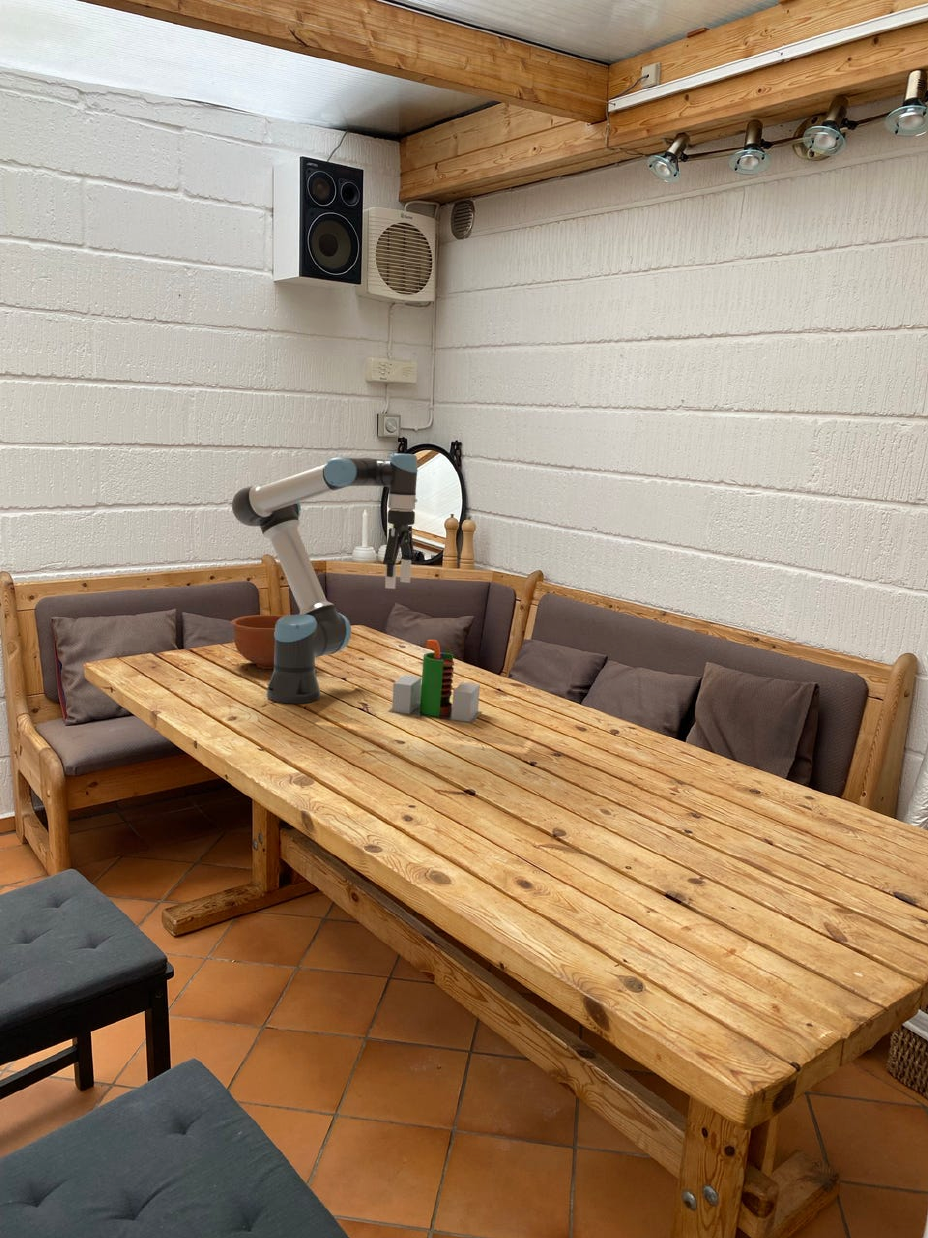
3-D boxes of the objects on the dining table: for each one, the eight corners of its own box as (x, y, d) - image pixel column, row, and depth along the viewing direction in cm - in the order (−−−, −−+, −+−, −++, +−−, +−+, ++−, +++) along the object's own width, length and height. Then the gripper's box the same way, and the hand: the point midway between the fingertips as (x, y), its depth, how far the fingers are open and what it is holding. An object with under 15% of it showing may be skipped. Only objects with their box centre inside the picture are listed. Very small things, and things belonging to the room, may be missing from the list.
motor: (450, 717, 260) (455, 646, 257) (418, 715, 261) (422, 643, 257) (452, 707, 270) (456, 638, 267) (420, 705, 271) (424, 636, 267)
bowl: (301, 677, 299) (302, 630, 296) (221, 672, 299) (222, 625, 296) (314, 660, 323) (315, 616, 320) (240, 655, 323) (241, 611, 320)
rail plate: (387, 717, 262) (387, 711, 262) (400, 706, 274) (400, 701, 274) (471, 728, 257) (472, 723, 256) (481, 716, 268) (482, 711, 268)
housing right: (451, 719, 259) (453, 690, 257) (460, 709, 268) (462, 682, 267) (469, 721, 258) (471, 692, 256) (478, 712, 267) (479, 684, 266)
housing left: (392, 711, 263) (393, 683, 261) (403, 702, 272) (404, 675, 271) (409, 713, 262) (411, 685, 260) (420, 704, 271) (421, 677, 270)
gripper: (400, 513, 253) (396, 592, 256) (427, 508, 276) (423, 581, 280) (373, 511, 254) (370, 589, 258) (402, 506, 278) (398, 578, 282)
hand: (397, 585), depth 269 cm, fingers open, 13 cm apart
